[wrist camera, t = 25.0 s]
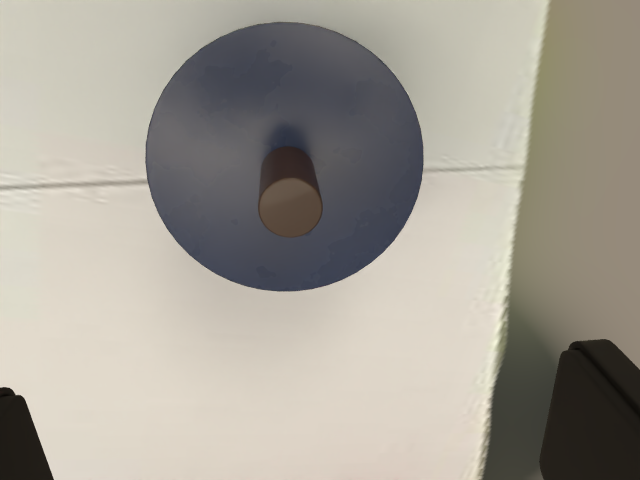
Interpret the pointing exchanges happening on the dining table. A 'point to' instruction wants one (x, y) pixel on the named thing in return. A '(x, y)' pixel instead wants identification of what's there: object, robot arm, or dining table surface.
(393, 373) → the dining table surface
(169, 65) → the dining table surface
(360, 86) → the tin lid
